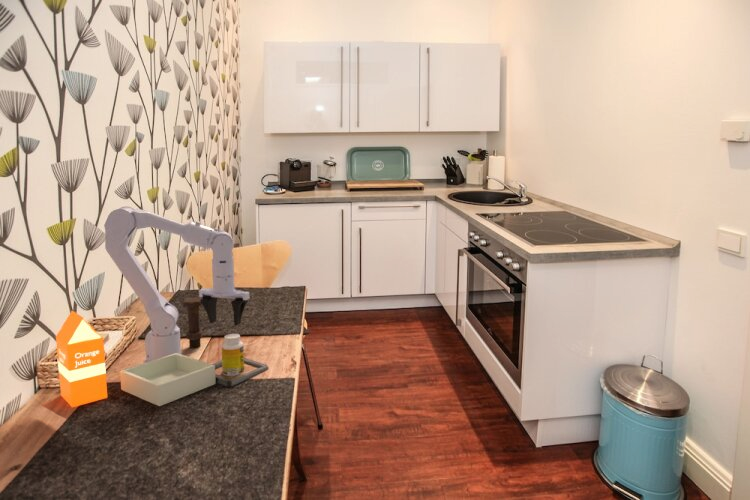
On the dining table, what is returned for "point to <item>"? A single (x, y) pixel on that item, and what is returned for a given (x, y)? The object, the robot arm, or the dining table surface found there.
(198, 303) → the bolt
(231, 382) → the socket collar
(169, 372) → the bin
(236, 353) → the supplement bottle
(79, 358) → the orange juice
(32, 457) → the dining table surface
